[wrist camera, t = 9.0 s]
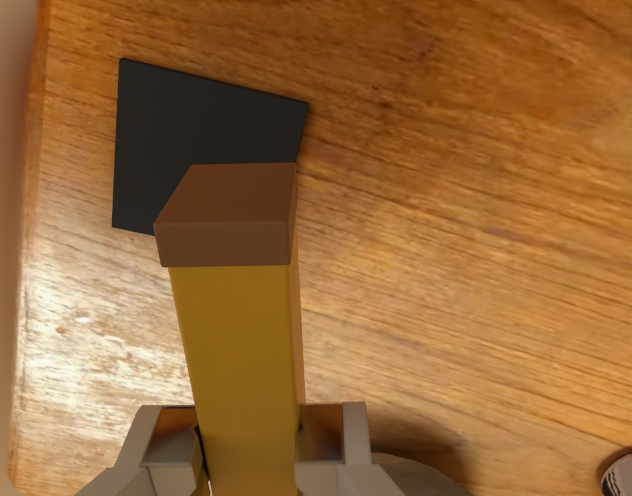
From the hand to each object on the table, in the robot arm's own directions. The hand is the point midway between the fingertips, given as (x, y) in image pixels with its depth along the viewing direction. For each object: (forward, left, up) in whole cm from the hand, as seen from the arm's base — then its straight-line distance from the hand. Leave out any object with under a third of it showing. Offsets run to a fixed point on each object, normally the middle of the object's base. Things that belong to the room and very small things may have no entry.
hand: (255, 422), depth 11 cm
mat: (+1, -4, -17) cm, 18 cm away
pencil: (0, 0, -2) cm, 2 cm away
